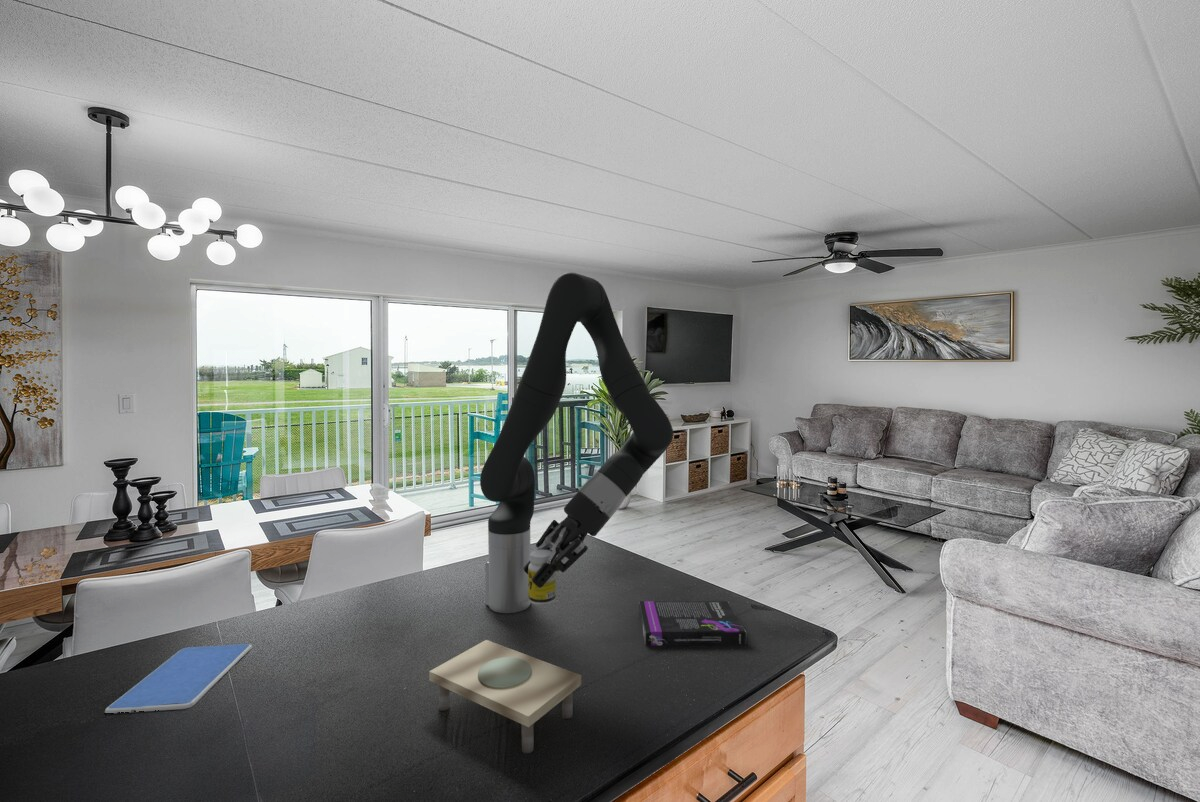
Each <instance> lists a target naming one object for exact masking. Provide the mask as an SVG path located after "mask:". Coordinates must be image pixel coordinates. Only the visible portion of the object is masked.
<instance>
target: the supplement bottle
mask: <svg viewBox="0 0 1200 802" xmlns="http://www.w3.org/2000/svg"><path fill="white" fill-rule="evenodd" d="M550 550H551V549H550ZM550 550H537V549H535V550H533V551H531V553H530V562H531V563H530V564H529V566H528V587H529V601H530V602H531V604H533V605H536V606H545V605H550V604H552V603H554V602H555V600H556V571H555V572H554V573H553V575H552V576H551V577H550V578H549V579H548V581H547V582H546V583H545V584H544V585H543V586H542V587H541V588H539V587H538V586H537V585H535V584H534V583H533V582H532V577H533V576H534V575H535V574H536V573H537V571H538V570H539V569H540V568H541V567H542V566H543V564H544V563H546V562H547V560H548V558H549V557H550V555H551V553H552V551H550ZM546 564H547V563H546Z"/></svg>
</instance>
